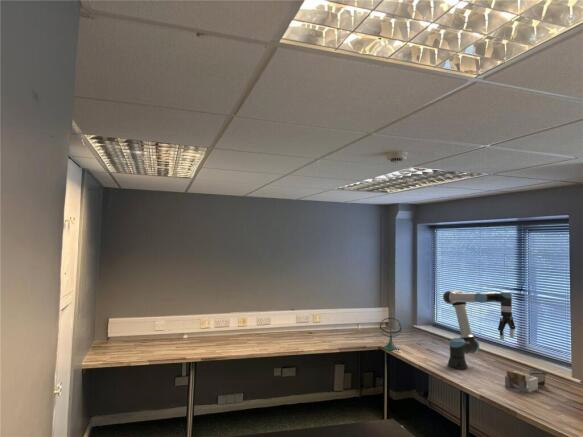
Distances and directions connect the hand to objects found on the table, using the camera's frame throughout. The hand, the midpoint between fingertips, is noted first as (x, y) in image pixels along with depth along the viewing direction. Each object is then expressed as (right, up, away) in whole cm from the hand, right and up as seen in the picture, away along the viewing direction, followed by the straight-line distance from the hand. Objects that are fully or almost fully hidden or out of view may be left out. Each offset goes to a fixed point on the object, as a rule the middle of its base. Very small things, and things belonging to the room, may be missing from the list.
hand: (506, 338), depth 289 cm
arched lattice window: (+16, -32, -9) cm, 37 cm away
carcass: (0, -31, -17) cm, 35 cm away
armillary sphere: (-71, -36, +77) cm, 111 cm away
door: (-5, -27, -20) cm, 34 cm away
